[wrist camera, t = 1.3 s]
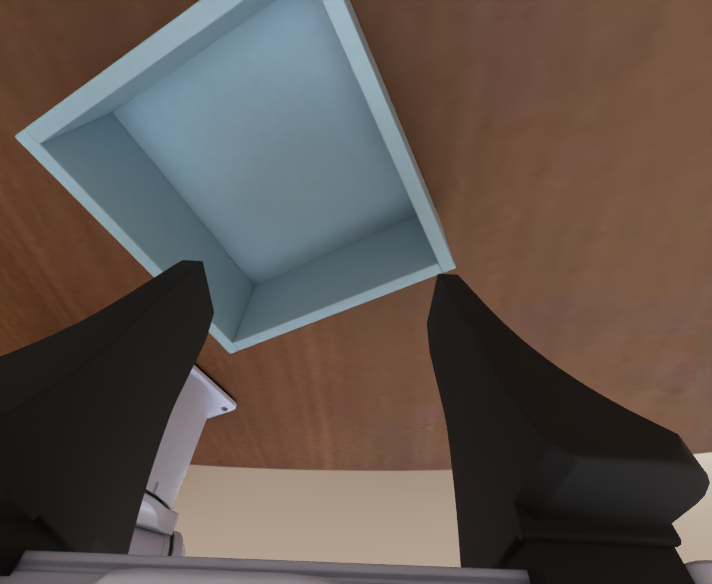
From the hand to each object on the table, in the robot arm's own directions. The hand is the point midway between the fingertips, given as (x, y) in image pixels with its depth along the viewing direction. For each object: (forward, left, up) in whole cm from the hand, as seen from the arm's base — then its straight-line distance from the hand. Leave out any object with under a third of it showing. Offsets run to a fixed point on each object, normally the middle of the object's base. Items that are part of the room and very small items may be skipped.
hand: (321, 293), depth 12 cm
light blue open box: (-2, +2, -10) cm, 10 cm away
